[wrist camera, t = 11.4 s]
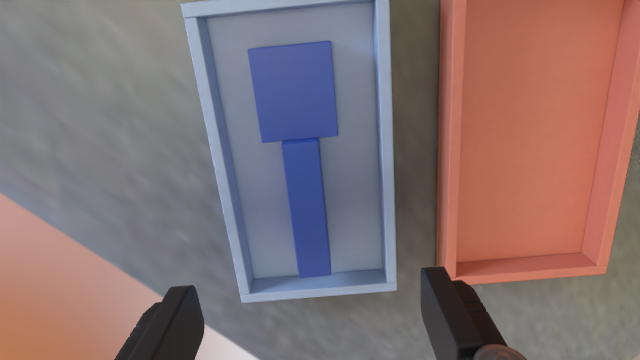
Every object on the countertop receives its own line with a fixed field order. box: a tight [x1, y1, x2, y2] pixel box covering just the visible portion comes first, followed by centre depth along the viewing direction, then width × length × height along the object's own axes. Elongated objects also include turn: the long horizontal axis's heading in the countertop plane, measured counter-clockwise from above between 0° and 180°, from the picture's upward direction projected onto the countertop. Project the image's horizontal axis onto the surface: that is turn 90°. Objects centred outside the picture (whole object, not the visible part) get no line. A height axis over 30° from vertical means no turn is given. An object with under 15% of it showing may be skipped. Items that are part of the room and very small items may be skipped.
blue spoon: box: [247, 41, 338, 278], centre depth 20 cm, size 12×4×2 cm, turn 5°
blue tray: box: [181, 0, 397, 303], centre depth 20 cm, size 16×9×2 cm, turn 5°
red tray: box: [436, 0, 640, 285], centre depth 20 cm, size 16×9×2 cm, turn 5°
